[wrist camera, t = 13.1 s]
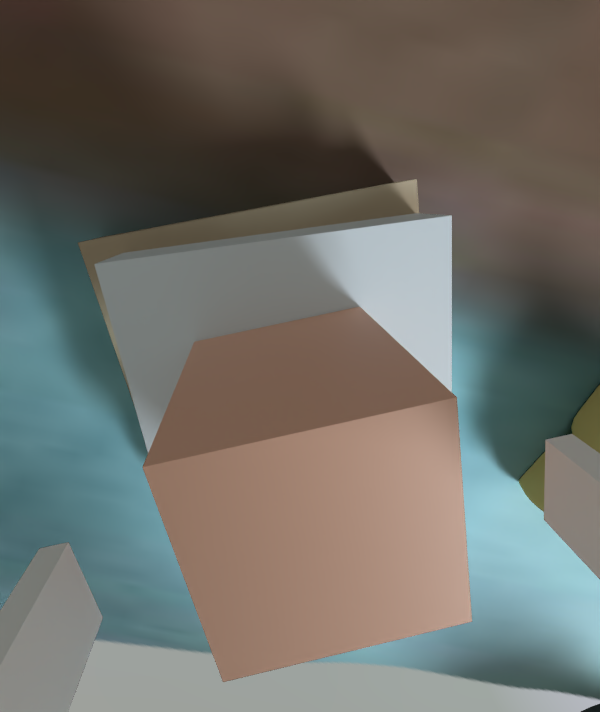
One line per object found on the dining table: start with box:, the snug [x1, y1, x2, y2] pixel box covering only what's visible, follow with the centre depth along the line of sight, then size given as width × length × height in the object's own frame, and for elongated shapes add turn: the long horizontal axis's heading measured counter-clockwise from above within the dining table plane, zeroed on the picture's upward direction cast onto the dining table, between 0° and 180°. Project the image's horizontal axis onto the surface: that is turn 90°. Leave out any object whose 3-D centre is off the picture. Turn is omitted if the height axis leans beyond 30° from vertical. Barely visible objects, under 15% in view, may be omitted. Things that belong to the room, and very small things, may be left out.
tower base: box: [78, 179, 419, 403], centre depth 25 cm, size 16×16×4 cm
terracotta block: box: [143, 307, 472, 682], centre depth 15 cm, size 7×7×9 cm
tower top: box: [94, 213, 452, 453], centre depth 21 cm, size 14×14×4 cm
